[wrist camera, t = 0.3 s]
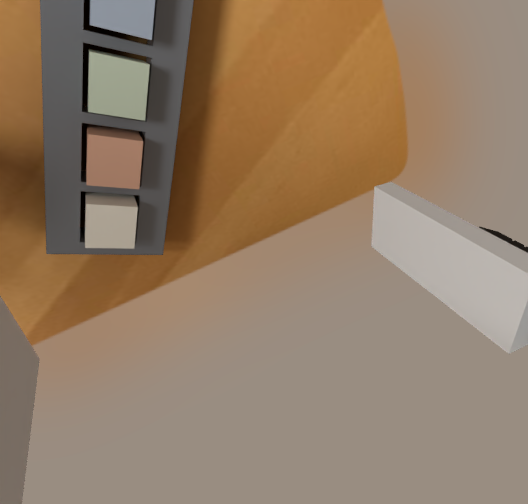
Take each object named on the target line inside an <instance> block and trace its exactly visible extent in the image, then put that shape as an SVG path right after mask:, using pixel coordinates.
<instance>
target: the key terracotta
mask: <svg viewBox="0 0 528 504" xmlns="http://www.w3.org/2000/svg"><path fill="white" fill-rule="evenodd" d="M142 151H143V140H142V138H141V136H140V134H139V132H138V131H134V130H127V129H120V128H113V127H106V126H99V125H92V124H87V146H86V184H87V185H90V186H103V187H115V188H128V189H139V187H140V175H141V163H142Z"/></svg>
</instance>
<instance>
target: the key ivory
mask: <svg viewBox="0 0 528 504" xmlns="http://www.w3.org/2000/svg"><path fill="white" fill-rule="evenodd" d="M137 211H138V206H137V203H136V200H135V197H134V195H127V194H113V193H99V192H85V248H125V249H134V246H135V234H136V222H137Z"/></svg>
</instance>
